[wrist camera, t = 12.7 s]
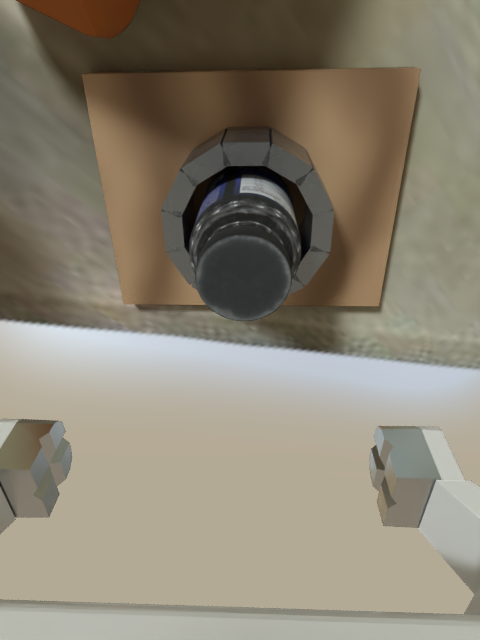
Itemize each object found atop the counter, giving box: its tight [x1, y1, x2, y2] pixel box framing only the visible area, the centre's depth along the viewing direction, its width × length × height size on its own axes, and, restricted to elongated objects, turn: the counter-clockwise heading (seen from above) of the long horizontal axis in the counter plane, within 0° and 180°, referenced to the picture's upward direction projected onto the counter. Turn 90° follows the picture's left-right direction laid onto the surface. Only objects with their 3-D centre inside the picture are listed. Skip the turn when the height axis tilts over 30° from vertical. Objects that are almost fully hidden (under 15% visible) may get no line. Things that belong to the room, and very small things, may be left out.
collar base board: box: [82, 67, 421, 306], centre depth 31 cm, size 20×16×2 cm
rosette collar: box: [161, 126, 334, 295], centre depth 28 cm, size 10×10×5 cm
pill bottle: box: [189, 166, 302, 321], centre depth 26 cm, size 6×6×11 cm
